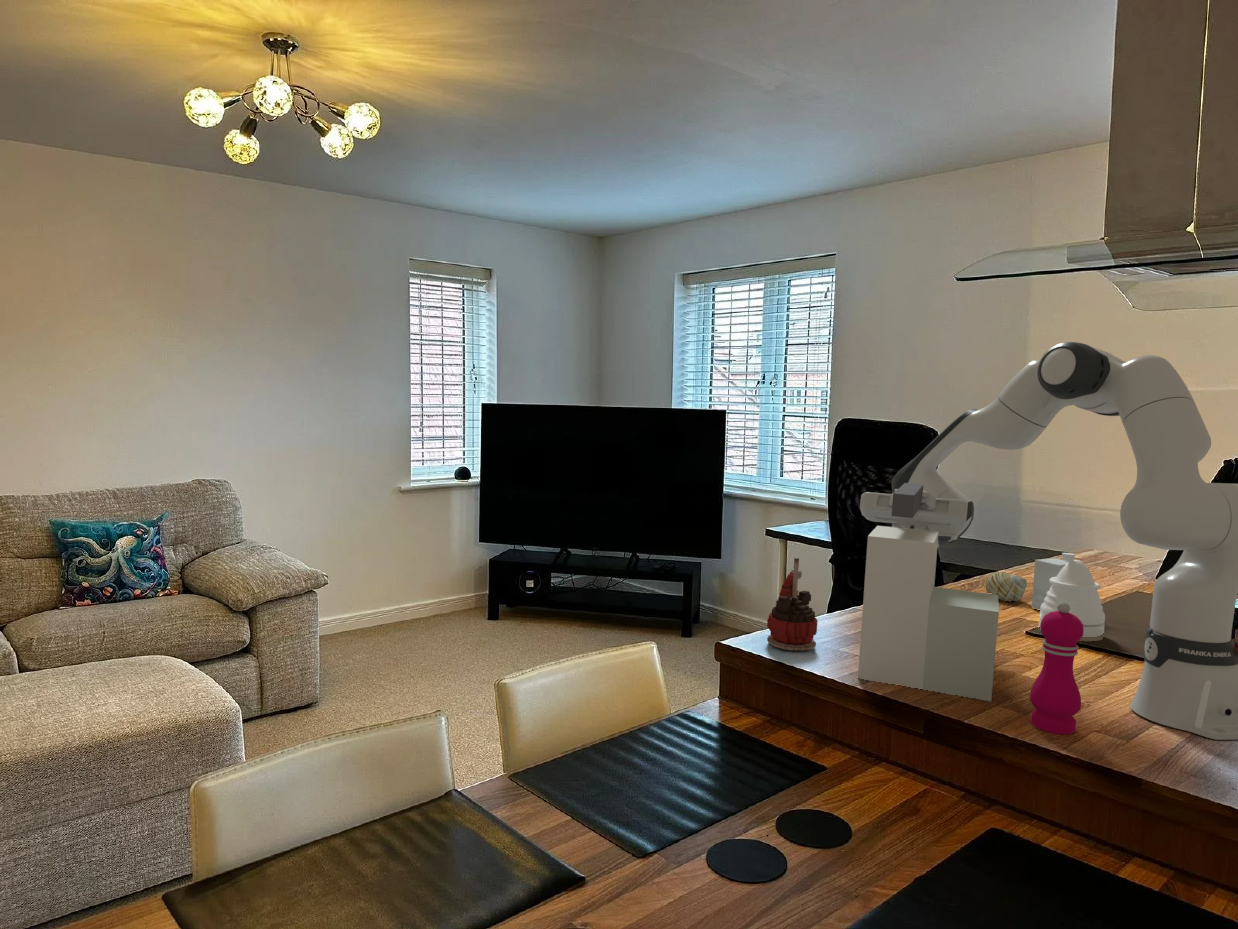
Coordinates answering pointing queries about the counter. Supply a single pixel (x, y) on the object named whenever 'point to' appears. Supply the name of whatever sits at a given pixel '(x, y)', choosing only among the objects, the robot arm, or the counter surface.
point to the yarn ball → (1006, 586)
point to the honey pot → (1076, 596)
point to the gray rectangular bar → (907, 500)
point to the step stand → (923, 620)
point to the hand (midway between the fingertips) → (911, 493)
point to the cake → (792, 616)
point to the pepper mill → (1057, 673)
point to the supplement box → (1044, 578)
